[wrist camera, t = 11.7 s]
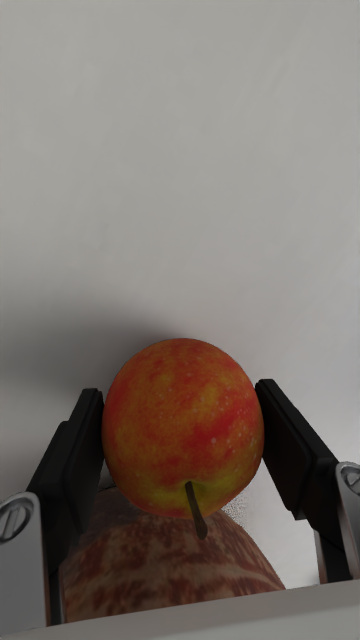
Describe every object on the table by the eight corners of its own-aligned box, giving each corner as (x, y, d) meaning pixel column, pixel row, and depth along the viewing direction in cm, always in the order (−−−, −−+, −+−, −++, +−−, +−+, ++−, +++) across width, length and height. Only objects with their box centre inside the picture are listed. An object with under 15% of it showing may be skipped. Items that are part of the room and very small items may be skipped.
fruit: (202, 423, 15) (245, 607, 8) (102, 398, 13) (36, 600, 6) (252, 339, 13) (378, 483, 6) (140, 298, 11) (108, 423, 4)
